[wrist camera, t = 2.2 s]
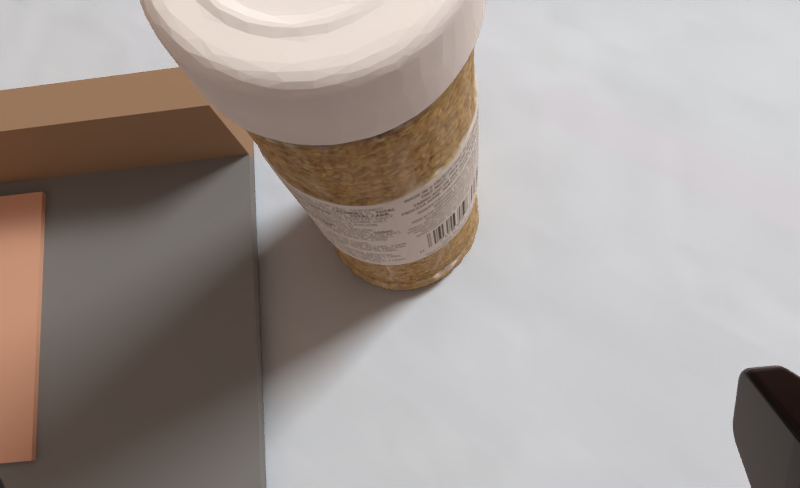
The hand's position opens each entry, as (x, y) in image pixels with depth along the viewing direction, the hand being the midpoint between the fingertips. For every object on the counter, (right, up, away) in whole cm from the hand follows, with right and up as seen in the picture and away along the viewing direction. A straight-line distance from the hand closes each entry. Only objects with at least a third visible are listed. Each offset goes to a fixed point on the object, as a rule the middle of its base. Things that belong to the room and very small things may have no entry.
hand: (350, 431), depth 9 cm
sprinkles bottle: (+1, +3, +13) cm, 14 cm away
